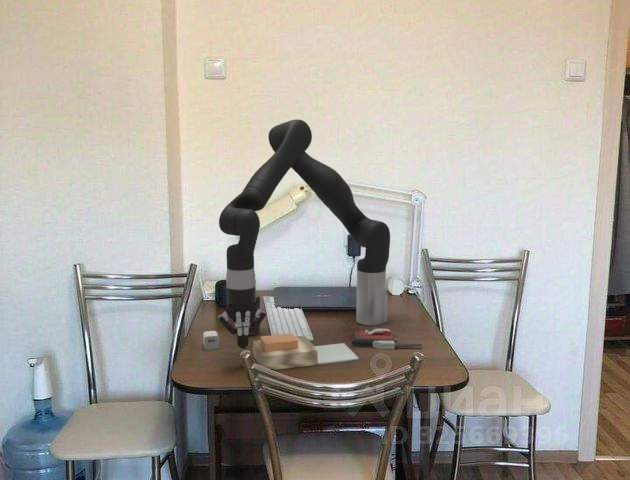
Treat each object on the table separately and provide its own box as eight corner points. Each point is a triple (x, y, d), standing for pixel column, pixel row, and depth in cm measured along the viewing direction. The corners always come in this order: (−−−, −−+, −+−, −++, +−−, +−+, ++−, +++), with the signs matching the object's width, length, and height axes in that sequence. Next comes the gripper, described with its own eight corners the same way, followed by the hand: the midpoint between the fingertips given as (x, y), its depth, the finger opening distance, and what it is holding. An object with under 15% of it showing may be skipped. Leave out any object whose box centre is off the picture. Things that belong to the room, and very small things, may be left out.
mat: (344, 344, 175) (344, 343, 175) (358, 359, 164) (358, 358, 164) (305, 348, 172) (305, 347, 172) (318, 364, 160) (318, 363, 160)
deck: (305, 348, 172) (305, 335, 171) (317, 364, 160) (317, 350, 160) (253, 354, 167) (252, 340, 167) (262, 371, 156) (262, 356, 155)
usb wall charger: (204, 350, 171) (204, 336, 170) (202, 341, 177) (202, 328, 177) (218, 348, 172) (218, 335, 171) (216, 340, 178) (215, 327, 178)
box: (243, 337, 180) (242, 299, 178) (236, 333, 184) (235, 295, 182) (261, 334, 184) (260, 296, 181) (254, 329, 187) (253, 292, 185)
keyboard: (314, 343, 178) (314, 335, 177) (272, 345, 176) (272, 337, 176) (297, 300, 221) (297, 294, 220) (263, 301, 219) (263, 295, 219)
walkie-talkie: (352, 350, 171) (422, 351, 171) (352, 336, 171) (422, 336, 170) (350, 339, 180) (417, 340, 180) (350, 325, 179) (418, 326, 179)
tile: (292, 340, 167) (292, 333, 166) (298, 348, 161) (298, 340, 161) (260, 344, 164) (260, 336, 164) (265, 351, 159) (265, 344, 158)
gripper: (262, 279, 162) (264, 340, 165) (213, 282, 158) (215, 345, 161) (269, 286, 155) (270, 349, 158) (217, 290, 151) (219, 355, 154)
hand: (242, 347), depth 160 cm, fingers closed
